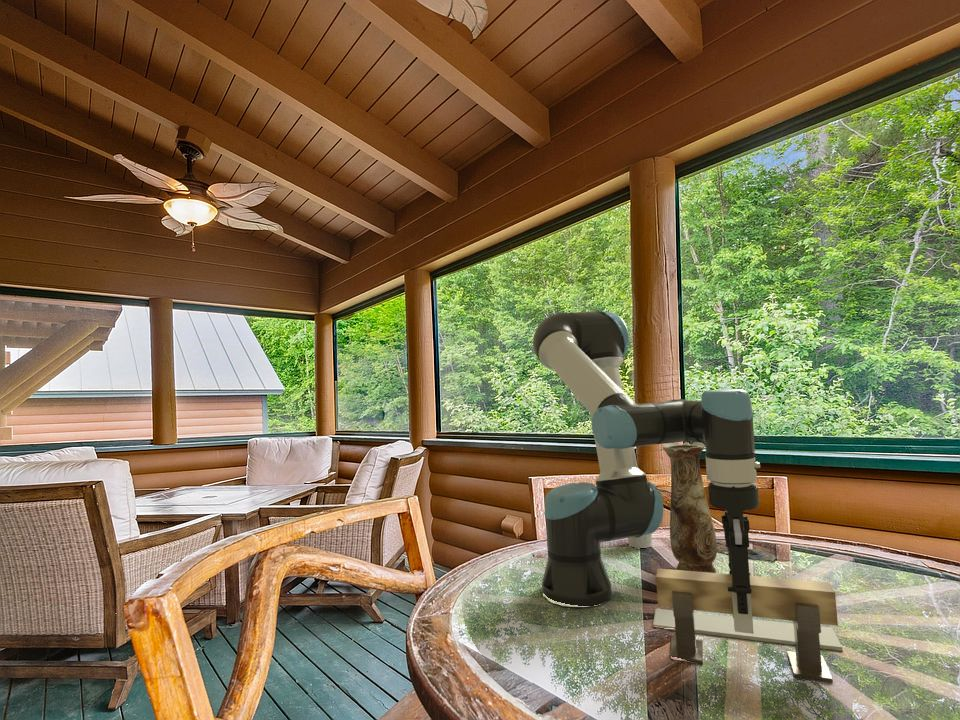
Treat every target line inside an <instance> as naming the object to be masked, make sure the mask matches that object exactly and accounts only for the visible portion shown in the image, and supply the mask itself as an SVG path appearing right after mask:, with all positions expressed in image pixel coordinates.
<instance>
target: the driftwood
mask: <svg viewBox="0 0 960 720" xmlns="http://www.w3.org/2000/svg"><path fill="white" fill-rule="evenodd" d="M717 544H720V545H724V546H725V547H727V545H726V543H722V542H717ZM717 553H723V554H725V555H728V547H727V549H726V552H725V551H724V550H722V549H719V548H717ZM776 559H778V557H777V556H776V555H773V554H772V553H767V552H763V551H760V550H757V549H752V548H748V561H759V562H768V563H771V564H773V563H774V561H775V560H776Z"/></svg>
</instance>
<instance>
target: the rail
mask: <svg viewBox="0 0 960 720" xmlns="http://www.w3.org/2000/svg"><path fill="white" fill-rule="evenodd" d="M655 575H656V576H655V580H656V581H655V582H656V596H657V607H659V608H660V607H661V608H671V609H673V600H672V591H677V592H688V593H691V594H692V608H693V610H694V611H698V612H708V613H716V614H718V613H719V614H727V615H733V602H732V592H728V587H732V574H729V573H719V572H716V573H708V572H696V571H684V570H676V569H671V568H669V569H668V568H657V569H656V574H655ZM750 587H751V589H752V592H751V605H752V618H763V619H773V620H781V621H782V620H783V621H792V622H793V621H797V620H796V607H795V603H803V604H813V605H818V607H819V613H820V625H827V626H828V625H829V626H837V627H838V626H839V623H838V622H839V621H838V612H837V599H836V591H835V590H834V588H833V586H832V584H831V583H830V582H828V581H816V580H805V579H804V580H803V579H793V578H782V577H781V578H780V577H779V578H778V577H769V576H768V577H767V576H756V575H755V576H754V575H751V576H750Z"/></svg>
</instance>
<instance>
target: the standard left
mask: <svg viewBox="0 0 960 720" xmlns="http://www.w3.org/2000/svg"><path fill="white" fill-rule="evenodd" d="M672 600H673V608H672V610H673V614H674V617H675V630H674V631H675V636H672V635H671V643H670V653H669V657H670V656H672V657H677V658H681V659H685V660H687V661H690V662H689V663H691V662H692V664H693V663H694V664H699V665H703V664H704V661H703V660H704V657H703V655H704V653H703V652H704V651H703V640H702V639H696V638H697V637H696V633H695V623H694V613H695V612H694V611H695V610H693V608H692V594H691V593H688V592H677V591H672Z"/></svg>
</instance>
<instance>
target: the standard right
mask: <svg viewBox="0 0 960 720" xmlns="http://www.w3.org/2000/svg"><path fill="white" fill-rule="evenodd" d="M795 607H796V620H797V621H792V622H793V624H794V637H795V645H794V649H795V651H790V650H789V651H788V650H787V651H786V654H787V658H788V661H789V664H790V667H791V670H792V674H793V677H794V678H795V679H803V680H811V681H818V682H825V683H831V684H833V683H834V682H833V677H832V675H831V672H830V670H829V667H828V665H827V663H826V661H825V658H824V656H823V654H822V653H821V648H820V640H819V633H821V627H822V626H821V625H822V624H820V613H819V607H818V605H813V604H803V603H795ZM821 654H822V655H821Z"/></svg>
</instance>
